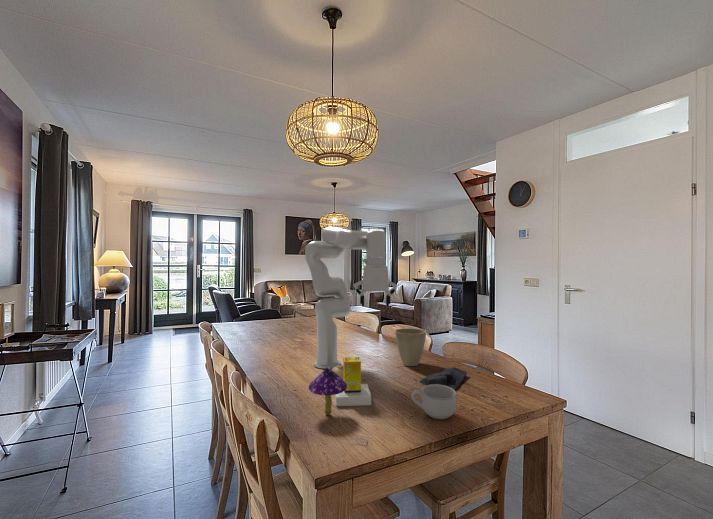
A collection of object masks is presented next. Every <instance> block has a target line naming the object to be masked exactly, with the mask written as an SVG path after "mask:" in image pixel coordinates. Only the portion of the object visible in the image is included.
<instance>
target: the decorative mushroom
mask: <svg viewBox="0 0 713 519" xmlns="http://www.w3.org/2000/svg"><path fill="white" fill-rule="evenodd" d="M332 369H333V368H329V367H328V368H326V369H324V370H323V371H322V372H320V373H319V374H318V375H317V376H316V377H315V379H313V380H312V381H311V382H310V384H309V386H308V390H309V392H311V393H313V394H314V395H320V396H324V398H325V403H324V404H325V406H324V413H325V415H327V416H328V415H329V416H330V415H331V413H332V402H333V401H332V396H334V395H335V394H339V393H342V392H344V391H345V390H346V389H347V384H346V382H345V381H344V380H342V378H341V377H340V376H339V375H338V374H336V373H335V372H334V371H333V370H332Z"/></svg>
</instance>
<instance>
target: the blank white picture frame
mask: <svg viewBox="0 0 713 519" xmlns="http://www.w3.org/2000/svg"><path fill="white" fill-rule="evenodd" d="M334 397H335V406H336V407H353V406H355V407H357V406H372V394H371V391H370V389H369V385H368V383H361V392H355V393H345V392H342V393H339V394H335V396H334Z"/></svg>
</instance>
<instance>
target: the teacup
mask: <svg viewBox="0 0 713 519" xmlns="http://www.w3.org/2000/svg"><path fill="white" fill-rule="evenodd" d="M416 394H419V396H420V399H421V402H420V401H418V399H416V397H415V395H416ZM410 396H411V400H412V401H413V402H414V403H415V404H416V405H417V406H419V408H421V409H422V410H423V411H424V412H425V413H426V414H427V416H429V417H430V418H432V419H435V420H446V419H448V418H450V417H451V416H453V415H454V413H455V411H456V407H457V406H456V405H457V404H456V403H457V392H456V390H454V389H452V388H450V387H448V386H444V385H438V384H431V385H424V386H423V387H422V388H421V390H419V389H414V390H412V392H411V395H410Z"/></svg>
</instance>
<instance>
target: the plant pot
mask: <svg viewBox="0 0 713 519" xmlns="http://www.w3.org/2000/svg"><path fill="white" fill-rule="evenodd" d="M394 334H395V340H396V345H397V349H398V352H399V356H400V359H401V362H402V364H403V365H404V366H407V367H417V366H419V364H420V361H421V359H422V356H423V352H424V349H425V343H426V335H427V331H426V330H425V329H423V328H421V329H420V328H414V327H413V328H411V327H410V328H409V327H408V328H407V327H405V328H398V329H395V330H394Z"/></svg>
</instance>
